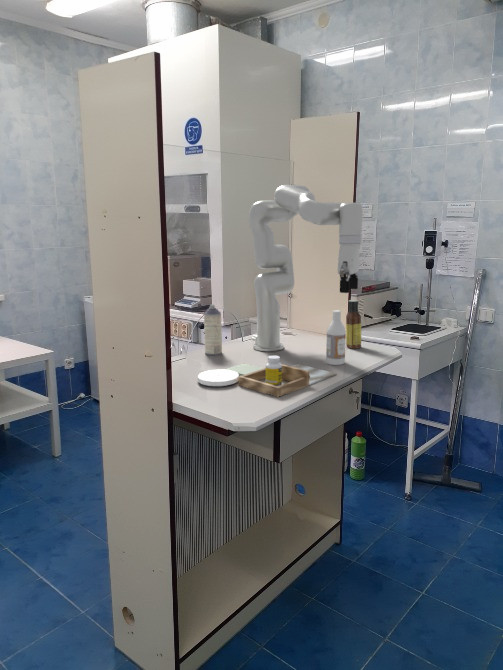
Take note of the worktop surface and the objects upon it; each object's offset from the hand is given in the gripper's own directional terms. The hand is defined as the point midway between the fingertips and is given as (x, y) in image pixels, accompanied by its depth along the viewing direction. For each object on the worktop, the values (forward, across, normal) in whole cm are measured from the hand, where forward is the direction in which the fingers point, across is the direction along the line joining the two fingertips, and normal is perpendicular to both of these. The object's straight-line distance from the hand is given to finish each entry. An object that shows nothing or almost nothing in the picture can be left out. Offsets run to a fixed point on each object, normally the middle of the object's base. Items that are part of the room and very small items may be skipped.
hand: (348, 290), depth 185 cm
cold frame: (+29, +17, -15) cm, 37 cm away
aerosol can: (+29, -2, -56) cm, 63 cm away
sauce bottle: (+29, -34, -8) cm, 46 cm away
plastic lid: (+30, +29, -36) cm, 55 cm away
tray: (+29, +17, -32) cm, 46 cm away
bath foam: (+29, -9, -7) cm, 31 cm away
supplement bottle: (+29, +25, -17) cm, 42 cm away
